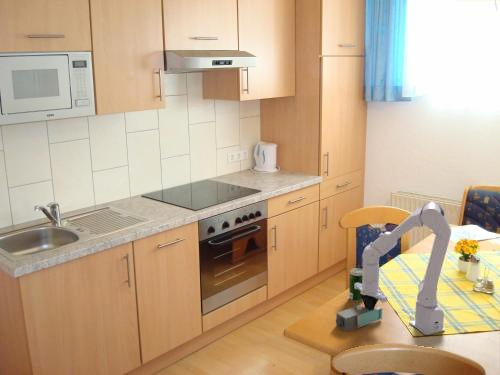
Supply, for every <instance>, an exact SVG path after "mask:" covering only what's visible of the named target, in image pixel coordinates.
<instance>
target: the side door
mask: <svg viewBox="0 0 500 375" xmlns="http://www.w3.org/2000/svg"><path fill="white" fill-rule="evenodd" d="M382 319H383V307H382V306H379V307H376V308H374V310H371V311H368V312H365V313H363V314H360V315H357V328H358V329H359V328H360V327H364V326H366V325H367V326H368V325H369V324H372V323H374V322H376V321H379V320H382Z"/></svg>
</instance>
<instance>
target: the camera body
mask: <svg viewBox="0 0 500 375" xmlns="http://www.w3.org/2000/svg"><path fill="white" fill-rule="evenodd" d="M368 311H369V310H368V309H366V308H365V306H362V305H360V304H358V305H355V306H353V307H350V308H346V309H344V310H341V311H338V312H336V314H335V316H336V318H335V325H336V327H337V328H339V329H341V330H342V331H344V332H348V331H352V330H354V329H357V328H358V327H357V315H360V314H363V313H365V312H368Z"/></svg>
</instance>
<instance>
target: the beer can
mask: <svg viewBox="0 0 500 375" xmlns="http://www.w3.org/2000/svg"><path fill="white" fill-rule="evenodd" d="M362 276H363V268H360V267H359V268H357V267H355V268H354V267H353V268H351V269H350V271H349V287H348V288H349V289H348V292H349V293H348V297H349V300H350V301H351V302H354V303H358V302H363V301H362V299H361V297H360V295H361V293H360V292H361V291H360V290H359V289H355V288H354V284H355V283H361V284H362Z"/></svg>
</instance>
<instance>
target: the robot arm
mask: <svg viewBox="0 0 500 375" xmlns="http://www.w3.org/2000/svg"><path fill="white" fill-rule="evenodd" d="M424 226H425V227H427V229H430V230H431V231H432V232H433V233H434V235H435V237H434V239H433V240H434V241H433V243H432V248H431V251H430V255H429V259H428V263H427V266H426V270H425V273H424V276H423V280H422V281H420V283H419V284H418V291H417V297H416V300H415V314H414V316H415V317H414V320H411V321H409V324H410V325H411V326H413V327H415V328H416V329H417V330H419V331H420V332H421V333H422V334H424V335H432V334H437V333H440V332H445V331H446V328H444V318H445V316H444V315H445V314H444V311H443V310H442V309H441V308H440V307H439V303H438V302H439V301H438V300H437V293H438V283H439V279H440V275H441V271H442V269H443V265H444V261H445V258H446V253H447V250H448V247H449V244H450V243H449V242H450V239H451V236H452V229H451V225H450V223H449V220H448V218H447V215H446V212H445V210H444V209H443V207H441V206H440V204H439V203H437V202H435V201H428V202H426V203H424V204H423V206H420V207H418V208H417V209H415V210H414V211H413V212H412V213H411V214H410V215H408V216H407V217H406V218H405V219H404V220H403V221H402V222H401V223H400V224H399V225H398V226H396V227H395V228H394V229H393V230H392V231H385V232H384V233H383V232H380V233H379V235H378V237H377V238H376V239H375V240H374V241H373V242H372V241H370V243H368V245H366V246H365V248H364V249H363V252H362V254H361V258H362V260H363V261H362V264H363V265H362V270H363V276H362V284H361V283H355V284H354V288H355V289H359V290H360V291H361V292H360V293H361V295H360V297H361V299H362V301H361V302H362V303H363V305H364V306H363V307H364V308H366V309H368V310H369V311H371V310H374V309H376V308H375V307H376V305H377V303H378V302H379V301H380V302H381V303H383V304H384V303H386V302H387V301H388V296H386V295H385V294H384V293H383V292H382V291H381V290H380V289H379V285H380V284H379V283H380V282H379V281H380V264H379V263H380V257H383V256H384V255H385V254H387V253H388V252H390V251H391V250H392V249H393V248H395V246H396V245H397V244H398V240H399V239H400V238H401V237H403V236H404V235H405V234H407V233H409V231H411V230H413V229H414V228H417V227H419V228H423V227H424Z"/></svg>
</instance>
